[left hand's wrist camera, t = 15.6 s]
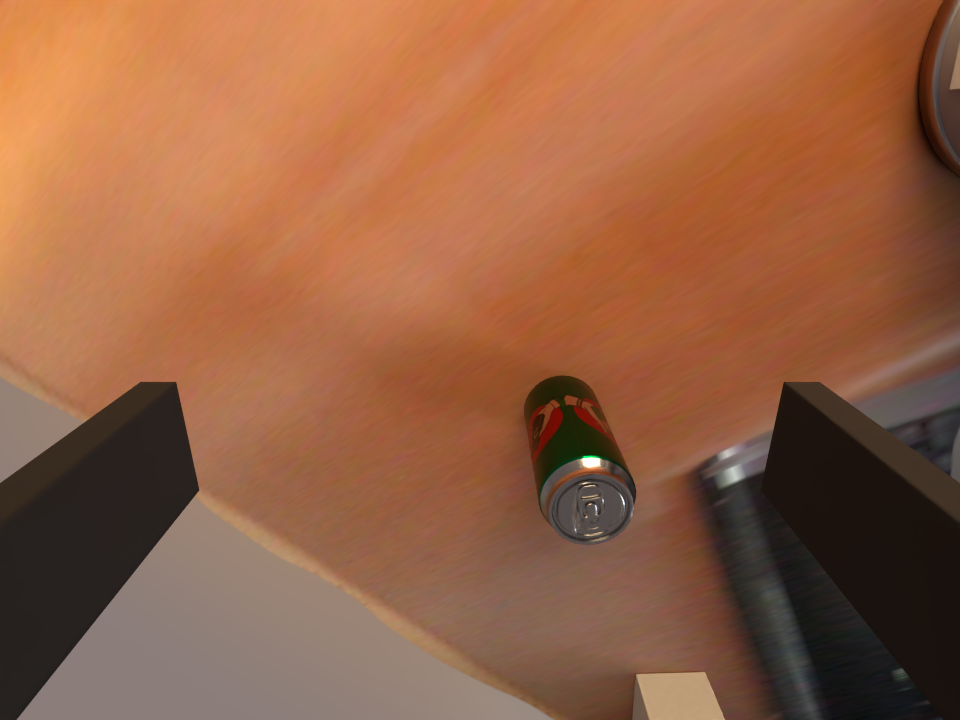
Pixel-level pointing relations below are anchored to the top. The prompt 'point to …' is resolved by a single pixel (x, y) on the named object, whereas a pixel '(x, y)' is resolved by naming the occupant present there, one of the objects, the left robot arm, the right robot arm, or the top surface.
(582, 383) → the soda can
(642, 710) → the block
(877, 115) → the top surface
